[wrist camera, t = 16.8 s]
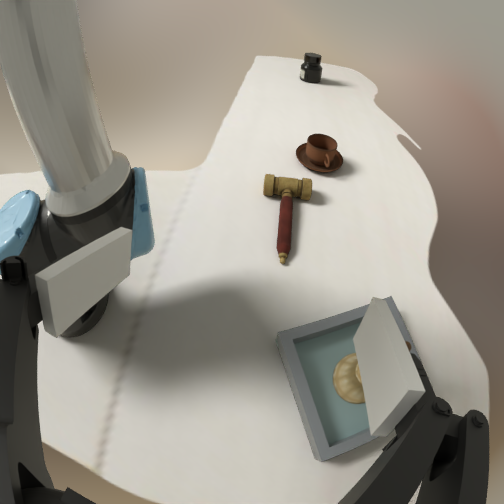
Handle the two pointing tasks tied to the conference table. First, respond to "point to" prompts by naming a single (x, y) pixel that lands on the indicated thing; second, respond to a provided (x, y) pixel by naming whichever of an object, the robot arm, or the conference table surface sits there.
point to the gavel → (286, 206)
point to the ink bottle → (311, 68)
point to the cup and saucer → (320, 153)
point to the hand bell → (350, 379)
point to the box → (328, 380)
